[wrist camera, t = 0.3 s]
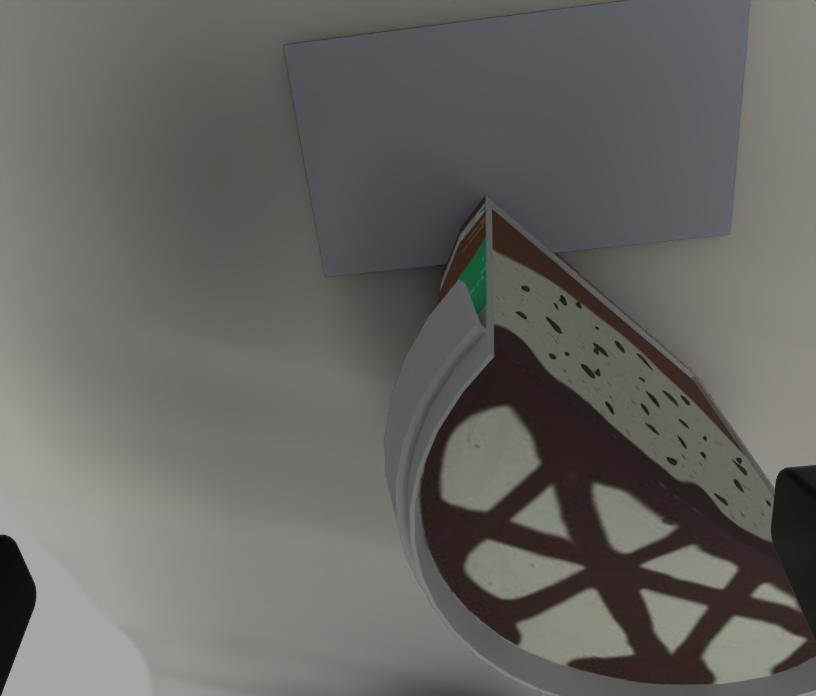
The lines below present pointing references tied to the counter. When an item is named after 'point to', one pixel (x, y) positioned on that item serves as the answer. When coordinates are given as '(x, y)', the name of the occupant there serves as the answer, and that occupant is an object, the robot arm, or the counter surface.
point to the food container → (582, 492)
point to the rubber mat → (523, 129)
